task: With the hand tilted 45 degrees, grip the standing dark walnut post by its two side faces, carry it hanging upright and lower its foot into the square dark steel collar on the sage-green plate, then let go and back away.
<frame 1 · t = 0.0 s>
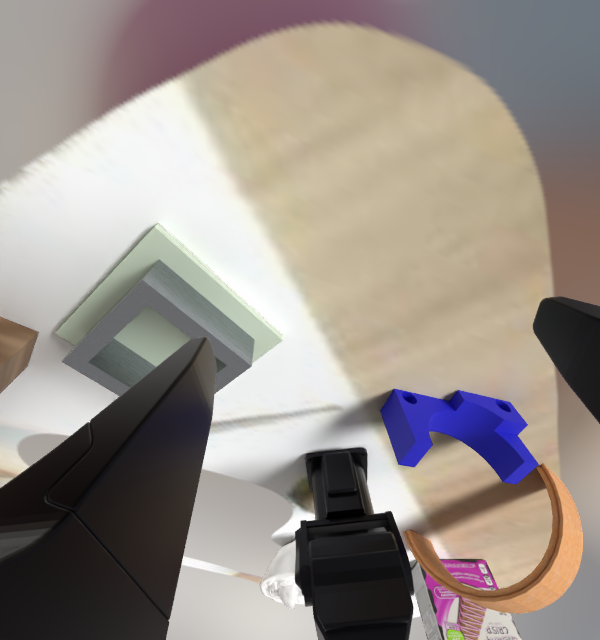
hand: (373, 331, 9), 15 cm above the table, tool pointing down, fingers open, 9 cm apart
base plate: (174, 331, 26), on the table
arch: (477, 505, 43), on the table
cell model: (305, 542, 46), on the table
cable clip: (443, 403, 33), on the table
steel collar: (174, 331, 26), resting on base plate
candy bar box: (445, 563, 51), on the table
walnut post: (4, 339, 26), on the table
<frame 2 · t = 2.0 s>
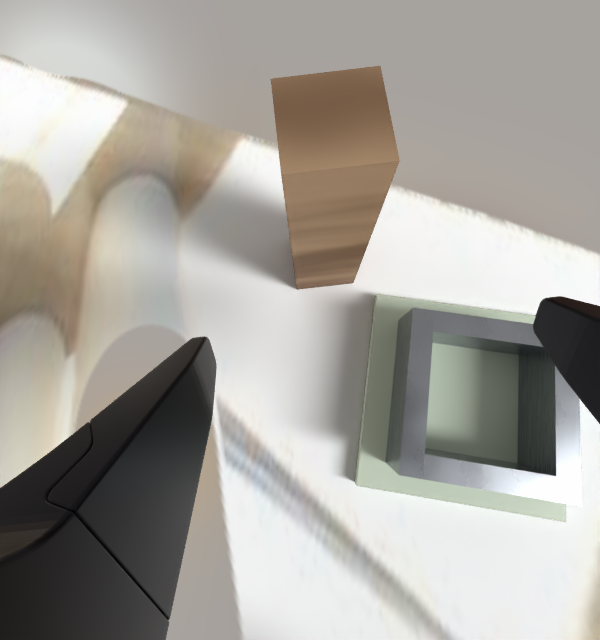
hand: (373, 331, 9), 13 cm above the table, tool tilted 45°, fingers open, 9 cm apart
base plate: (458, 398, 21), on the table
steel collar: (458, 398, 21), resting on base plate
walnut post: (321, 259, 24), on the table
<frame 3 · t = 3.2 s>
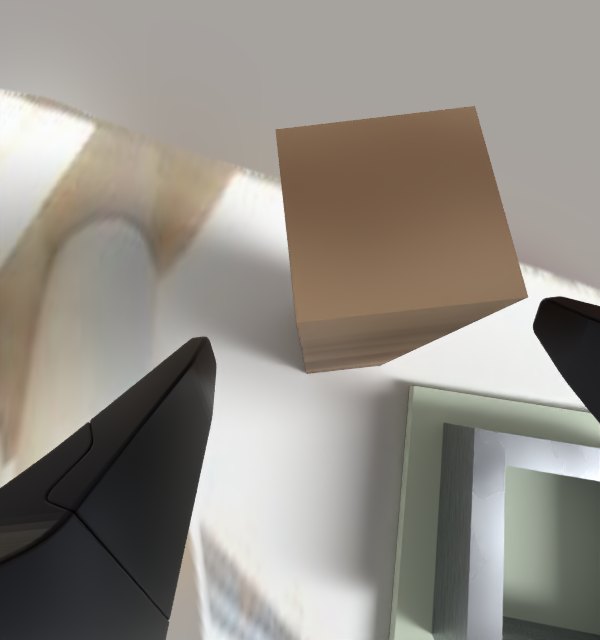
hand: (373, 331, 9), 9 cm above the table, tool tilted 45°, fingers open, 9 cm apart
base plate: (526, 532, 16), on the table
steel collar: (526, 532, 16), resting on base plate
walnut post: (338, 333, 18), on the table
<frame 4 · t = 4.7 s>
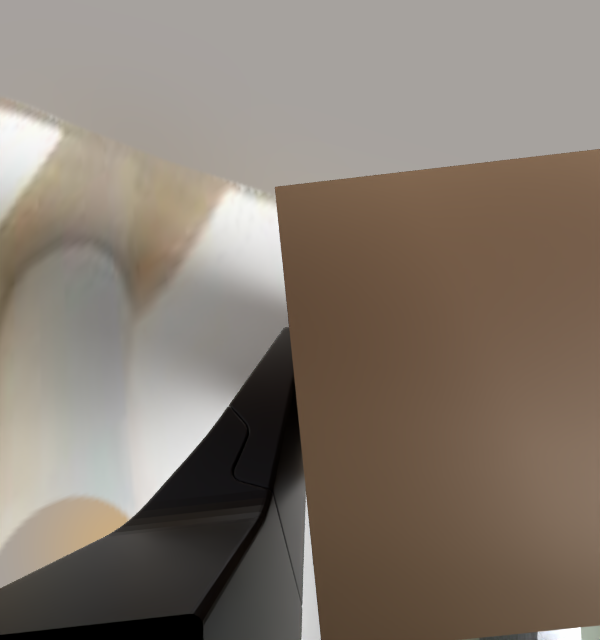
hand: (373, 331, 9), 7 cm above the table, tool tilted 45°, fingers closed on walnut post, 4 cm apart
walnut post: (351, 387, 15), on the table, touching gripper
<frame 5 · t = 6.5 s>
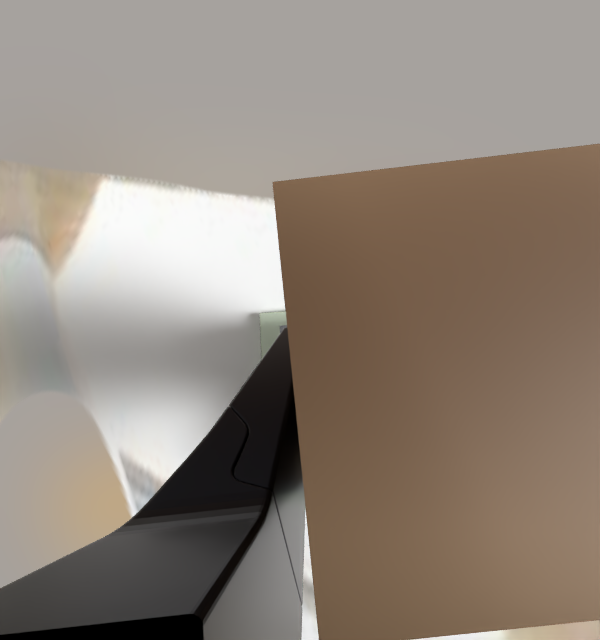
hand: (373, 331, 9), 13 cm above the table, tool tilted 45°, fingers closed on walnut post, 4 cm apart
base plate: (357, 399, 21), on the table
walnut post: (351, 386, 15), point 7 cm above the table, touching gripper
when the fingers open (8 cm above the table, at t = 8.1 s): walnut post drops 1 cm, resting on base plate.
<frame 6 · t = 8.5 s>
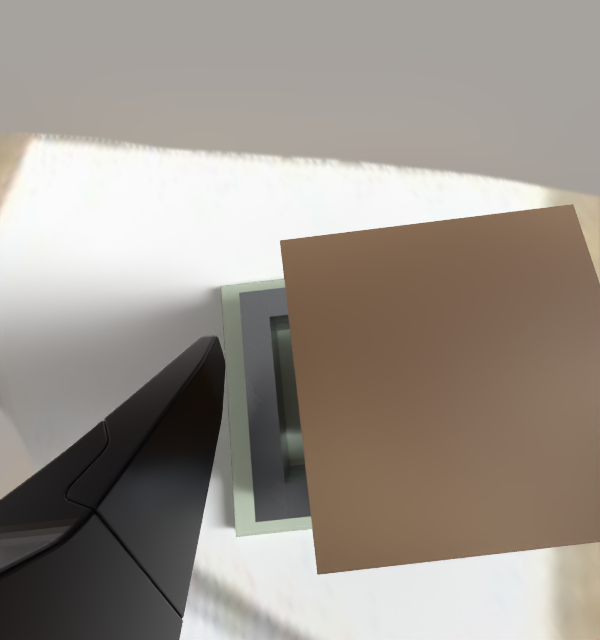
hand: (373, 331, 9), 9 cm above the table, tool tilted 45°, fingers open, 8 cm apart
base plate: (347, 388, 17), on the table
steel collar: (347, 388, 17), resting on base plate
walnut post: (348, 387, 16), point 1 cm above the table, touching base plate
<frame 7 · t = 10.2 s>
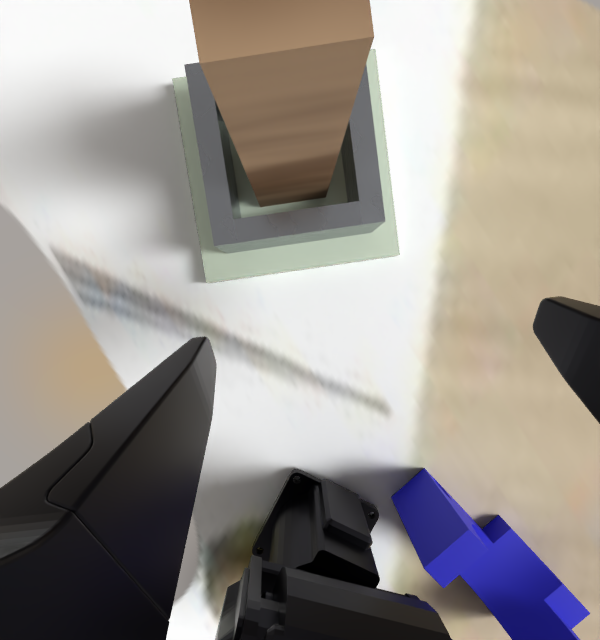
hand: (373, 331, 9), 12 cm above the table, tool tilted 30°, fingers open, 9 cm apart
base plate: (288, 173, 21), on the table
cable clip: (470, 532, 23), on the table
steel collar: (288, 173, 21), resting on base plate
walnut post: (288, 168, 20), point 1 cm above the table, touching base plate
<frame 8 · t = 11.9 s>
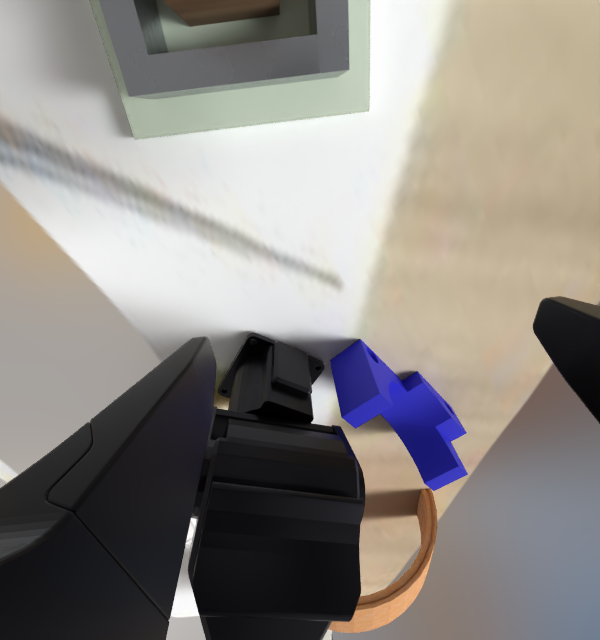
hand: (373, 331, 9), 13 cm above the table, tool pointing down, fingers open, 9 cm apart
arch: (341, 507, 38), on the table
cable clip: (393, 382, 28), on the table
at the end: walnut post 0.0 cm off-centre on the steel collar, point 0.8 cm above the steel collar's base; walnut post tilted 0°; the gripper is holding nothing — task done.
